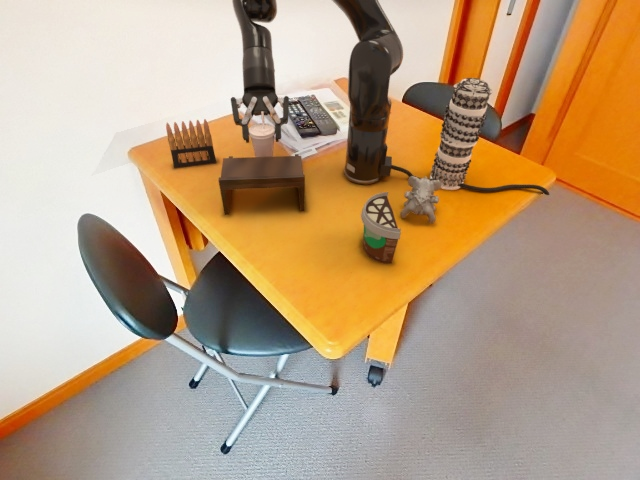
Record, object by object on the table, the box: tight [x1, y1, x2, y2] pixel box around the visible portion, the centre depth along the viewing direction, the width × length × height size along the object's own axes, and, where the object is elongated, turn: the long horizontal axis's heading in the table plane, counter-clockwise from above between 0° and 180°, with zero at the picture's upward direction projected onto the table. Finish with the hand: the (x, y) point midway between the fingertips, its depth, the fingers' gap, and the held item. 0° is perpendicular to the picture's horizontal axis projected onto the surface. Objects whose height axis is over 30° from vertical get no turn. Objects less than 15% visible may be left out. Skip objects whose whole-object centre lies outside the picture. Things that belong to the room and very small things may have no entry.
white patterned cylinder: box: [429, 77, 494, 191], centre depth 93 cm, size 9×9×25 cm
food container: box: [360, 191, 402, 264], centre depth 79 cm, size 12×6×10 cm, turn 5°
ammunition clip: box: [165, 118, 217, 169], centre depth 100 cm, size 11×2×12 cm, turn 106°
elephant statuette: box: [399, 175, 442, 224], centre depth 90 cm, size 9×12×8 cm
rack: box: [218, 153, 306, 216], centre depth 94 cm, size 18×21×9 cm
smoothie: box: [248, 111, 275, 157], centre depth 96 cm, size 6×6×14 cm
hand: (262, 141), depth 94 cm, fingers closed on smoothie, 6 cm apart
